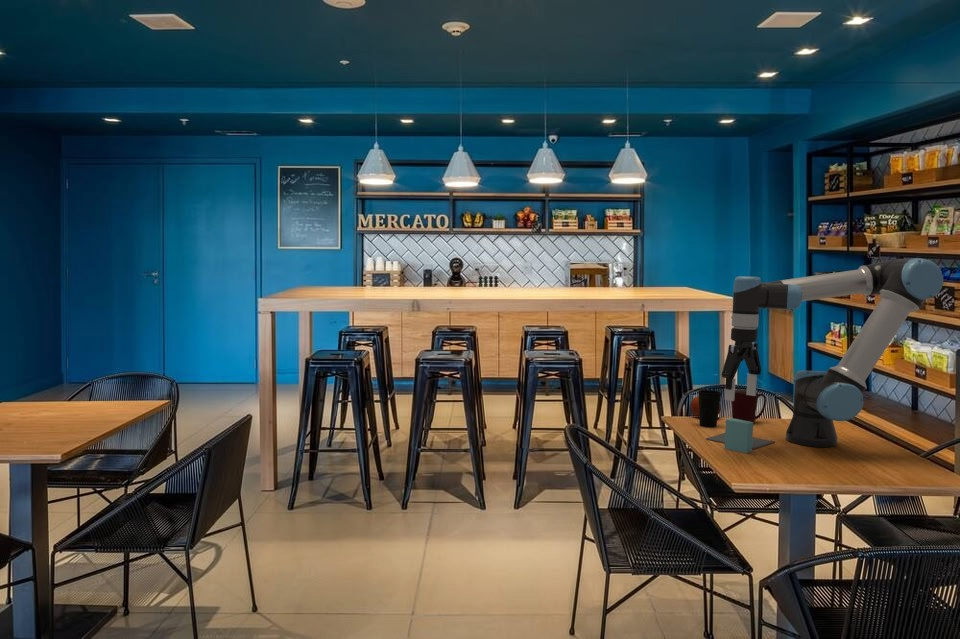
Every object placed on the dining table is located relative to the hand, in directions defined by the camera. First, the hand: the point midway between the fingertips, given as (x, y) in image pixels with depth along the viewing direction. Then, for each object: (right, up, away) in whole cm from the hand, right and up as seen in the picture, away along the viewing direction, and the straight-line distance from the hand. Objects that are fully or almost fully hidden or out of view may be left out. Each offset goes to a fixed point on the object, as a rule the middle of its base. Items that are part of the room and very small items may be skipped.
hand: (740, 397), depth 221 cm
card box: (0, -16, +1) cm, 16 cm away
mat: (+4, -15, +13) cm, 20 cm away
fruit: (+4, -13, +48) cm, 50 cm away
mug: (+17, -13, +41) cm, 46 cm away
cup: (+1, -14, +34) cm, 36 cm away
